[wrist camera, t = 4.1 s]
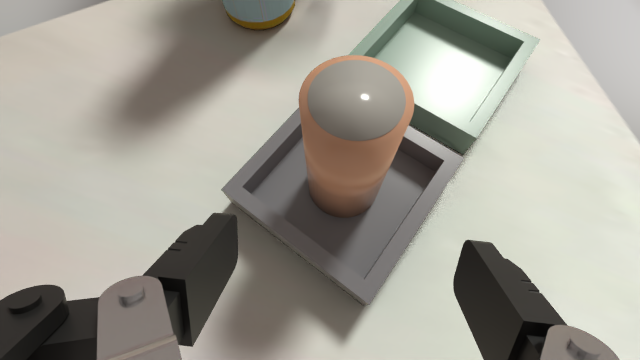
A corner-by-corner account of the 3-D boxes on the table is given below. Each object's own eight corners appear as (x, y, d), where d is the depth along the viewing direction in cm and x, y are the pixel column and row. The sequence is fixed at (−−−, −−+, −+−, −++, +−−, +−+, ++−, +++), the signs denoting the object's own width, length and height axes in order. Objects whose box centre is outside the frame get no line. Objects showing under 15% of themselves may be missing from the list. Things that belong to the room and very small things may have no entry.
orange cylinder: (351, 232, 22) (373, 170, 13) (294, 190, 23) (274, 107, 14) (391, 177, 23) (436, 87, 14) (335, 141, 25) (343, 37, 15)
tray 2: (462, 154, 25) (476, 138, 23) (340, 83, 28) (341, 62, 26) (523, 61, 29) (540, 39, 26) (409, 7, 32) (416, -17, 29)
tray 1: (364, 305, 20) (369, 304, 18) (231, 201, 23) (221, 189, 21) (450, 172, 24) (464, 158, 22) (326, 97, 27) (327, 77, 25)
